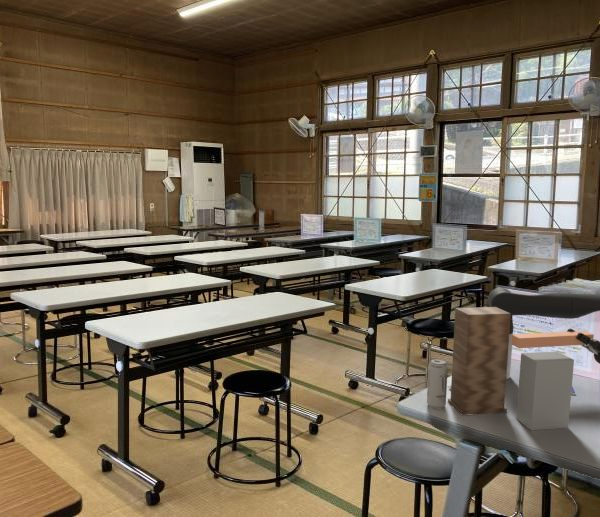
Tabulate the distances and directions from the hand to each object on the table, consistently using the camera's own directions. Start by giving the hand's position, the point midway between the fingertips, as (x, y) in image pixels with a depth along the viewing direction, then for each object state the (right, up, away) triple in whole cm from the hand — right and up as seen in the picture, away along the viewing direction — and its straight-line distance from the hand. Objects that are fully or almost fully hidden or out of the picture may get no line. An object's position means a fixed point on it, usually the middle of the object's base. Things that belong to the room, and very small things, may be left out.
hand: (573, 333), depth 165 cm
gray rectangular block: (-8, -28, +3) cm, 29 cm away
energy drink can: (-37, -26, +15) cm, 48 cm away
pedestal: (-24, -26, +14) cm, 38 cm away
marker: (-22, -25, +25) cm, 42 cm away
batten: (-7, -3, -1) cm, 7 cm away
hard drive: (+11, -25, +33) cm, 43 cm away
